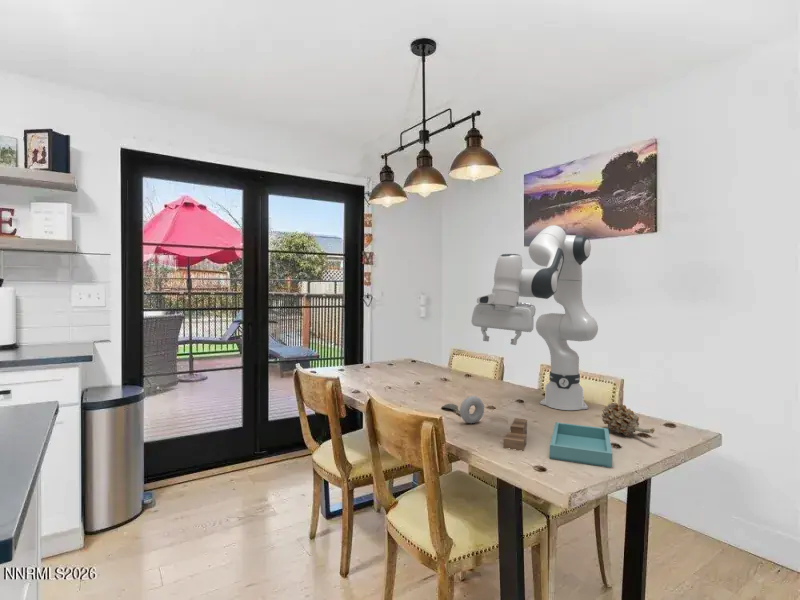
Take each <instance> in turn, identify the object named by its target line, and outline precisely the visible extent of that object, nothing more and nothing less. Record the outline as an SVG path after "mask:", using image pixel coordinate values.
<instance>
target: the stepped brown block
mask: <svg viewBox="0 0 800 600" xmlns="http://www.w3.org/2000/svg"><path fill="white" fill-rule="evenodd" d="M527 434H528V419H527V418H526V419H524V418H517V417H515V418H514V419H513V421H512V423H511V425H510V431H507V432H506V434H505V436H504V437H503V449H506V448H510V449H509V450H513V449H516V450H515V451H519V450H522V451H521V452H524V451H525V448H526V445H527Z"/></svg>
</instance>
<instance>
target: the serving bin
mask: <svg viewBox="0 0 800 600" xmlns="http://www.w3.org/2000/svg"><path fill="white" fill-rule="evenodd" d="M550 438H551V439H550V443H549V459H550V460H557V461H563V462H569V463H577V464H584V465H591V466H595V467H596V466H597V467H602V466H604V467H603V468H609V467H612V468H613V450H612V444H611V438H610V431H609V428H608V427H607V428H606V427H597V426H591V425H590V426H589V425H581V424H572V423H565V422H558V421H555V422H554V426H553V431H552V435H551V437H550Z"/></svg>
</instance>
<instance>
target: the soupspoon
mask: <svg viewBox="0 0 800 600" xmlns="http://www.w3.org/2000/svg"><path fill="white" fill-rule="evenodd" d="M443 408H445V409H451V410H453V411H456V412H458V413H459V414H460V409H458V408H459V406H458V405H457V404H454V403H446V404H444V405H443V406H441V408H440V409H443Z"/></svg>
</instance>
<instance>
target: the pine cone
mask: <svg viewBox="0 0 800 600" xmlns="http://www.w3.org/2000/svg"><path fill="white" fill-rule="evenodd" d="M601 411H602V415H601V417H602V418H601V420H602V422H603V424H604V425H607V429H609V430H611V431H613V430H614V433H618V434H622V435H623V436H626V437H629V436H630V435H633V434H634V433H635V432H639V433H645V434H654V432H655V431H656V430H655V428H654V427H651V428H642V427H639V425H640V422H639V421H640V418H639V416H638V415H637V414H635V411H633V410H631V408H627V406H626V405H625V404H622V403H620V404H619V403H618V402H611V403H608V404H607V406H604V409H603V410H601Z"/></svg>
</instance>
